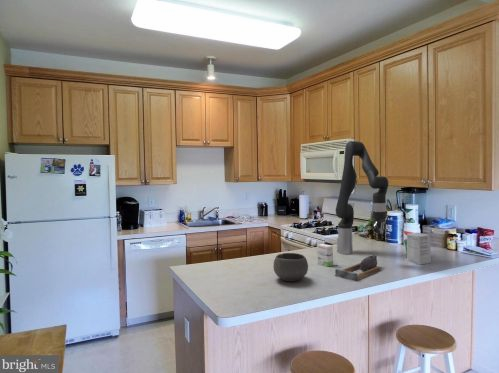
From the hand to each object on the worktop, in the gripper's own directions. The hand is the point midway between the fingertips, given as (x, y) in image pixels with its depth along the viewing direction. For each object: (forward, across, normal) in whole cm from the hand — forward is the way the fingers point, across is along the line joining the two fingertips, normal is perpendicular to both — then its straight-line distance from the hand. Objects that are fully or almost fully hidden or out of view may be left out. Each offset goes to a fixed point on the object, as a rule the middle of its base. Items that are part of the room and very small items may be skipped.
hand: (379, 239), depth 200 cm
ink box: (+15, +22, -23) cm, 35 cm away
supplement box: (+15, -20, +14) cm, 29 cm away
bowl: (+15, +57, -20) cm, 62 cm away
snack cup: (+15, -31, +6) cm, 35 cm away
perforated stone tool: (+15, +13, 0) cm, 20 cm away
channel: (+15, +23, 0) cm, 27 cm away
